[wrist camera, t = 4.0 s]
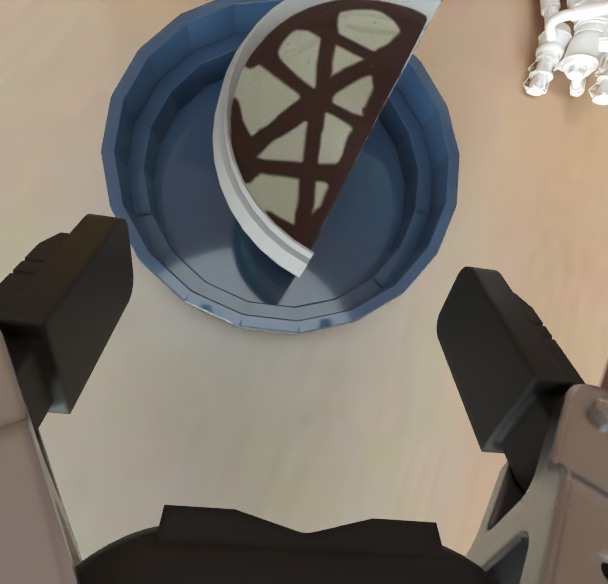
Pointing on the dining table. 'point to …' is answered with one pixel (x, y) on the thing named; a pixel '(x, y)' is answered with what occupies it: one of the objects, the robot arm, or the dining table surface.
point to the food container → (306, 112)
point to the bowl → (218, 216)
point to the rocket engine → (572, 47)
